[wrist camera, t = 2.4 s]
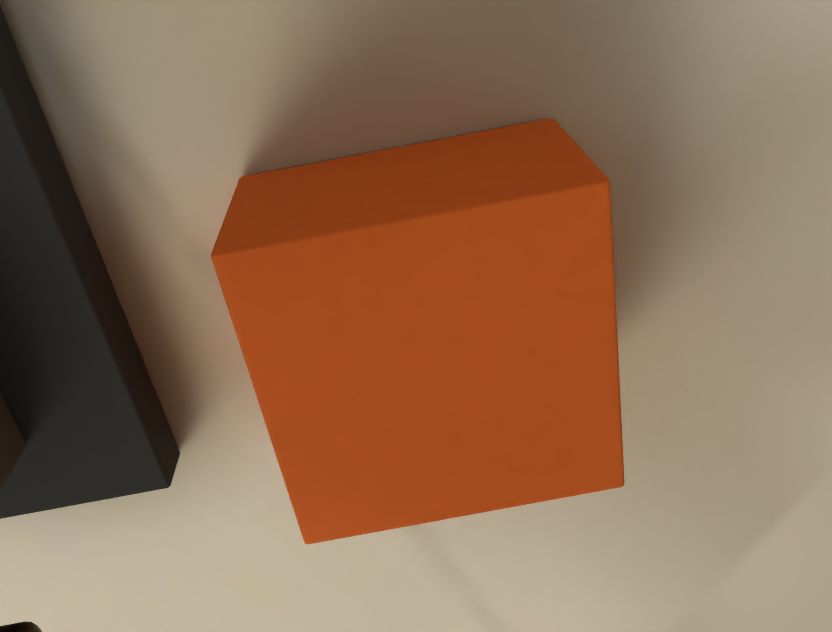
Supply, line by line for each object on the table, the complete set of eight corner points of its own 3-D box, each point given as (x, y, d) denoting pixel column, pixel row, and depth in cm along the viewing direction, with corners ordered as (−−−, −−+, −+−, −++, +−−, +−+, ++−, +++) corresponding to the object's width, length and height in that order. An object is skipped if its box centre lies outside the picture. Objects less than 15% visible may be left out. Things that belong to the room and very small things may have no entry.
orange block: (553, 116, 12) (611, 178, 9) (575, 380, 15) (625, 488, 12) (238, 176, 12) (208, 254, 10) (312, 428, 15) (304, 547, 12)
